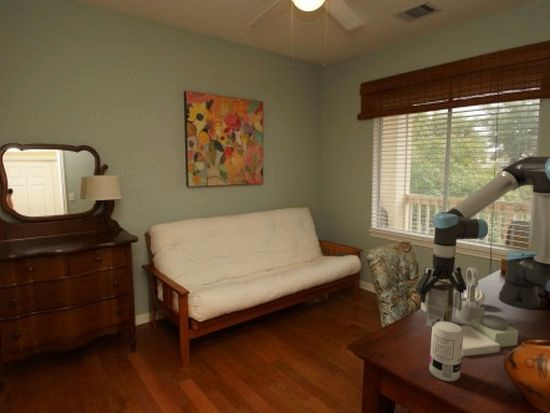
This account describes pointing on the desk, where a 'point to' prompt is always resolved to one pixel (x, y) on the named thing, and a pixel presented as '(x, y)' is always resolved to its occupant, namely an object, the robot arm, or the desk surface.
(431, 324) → the coffee box
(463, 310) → the engine component
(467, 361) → the desk surface
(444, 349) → the supplement can
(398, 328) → the desk surface
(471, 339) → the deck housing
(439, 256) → the robot arm
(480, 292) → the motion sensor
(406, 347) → the desk surface
